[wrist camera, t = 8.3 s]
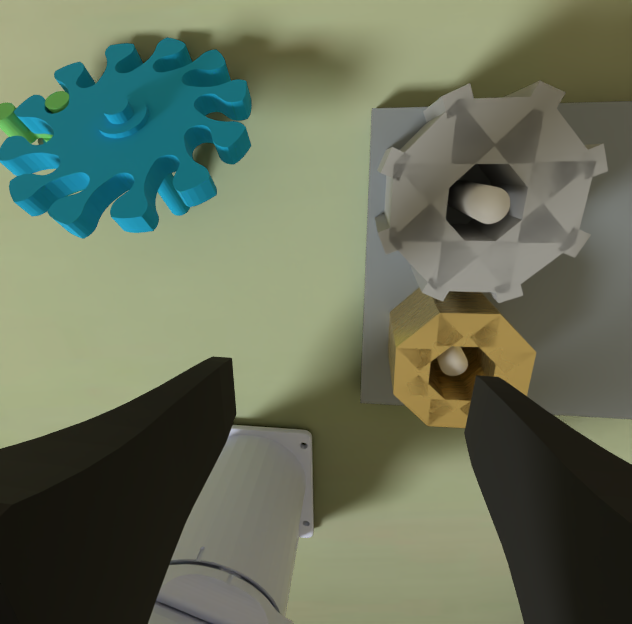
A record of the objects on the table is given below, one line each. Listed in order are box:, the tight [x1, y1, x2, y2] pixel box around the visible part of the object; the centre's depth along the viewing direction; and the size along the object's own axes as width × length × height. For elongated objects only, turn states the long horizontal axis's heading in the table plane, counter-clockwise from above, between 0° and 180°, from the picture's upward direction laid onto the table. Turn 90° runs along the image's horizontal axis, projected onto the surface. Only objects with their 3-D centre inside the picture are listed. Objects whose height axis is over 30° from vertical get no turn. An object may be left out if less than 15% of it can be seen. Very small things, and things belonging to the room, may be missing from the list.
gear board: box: [361, 81, 632, 419], centre depth 16 cm, size 15×15×6 cm
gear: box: [0, 38, 252, 239], centre depth 17 cm, size 11×6×10 cm
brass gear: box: [388, 287, 536, 428], centre depth 17 cm, size 6×6×4 cm
